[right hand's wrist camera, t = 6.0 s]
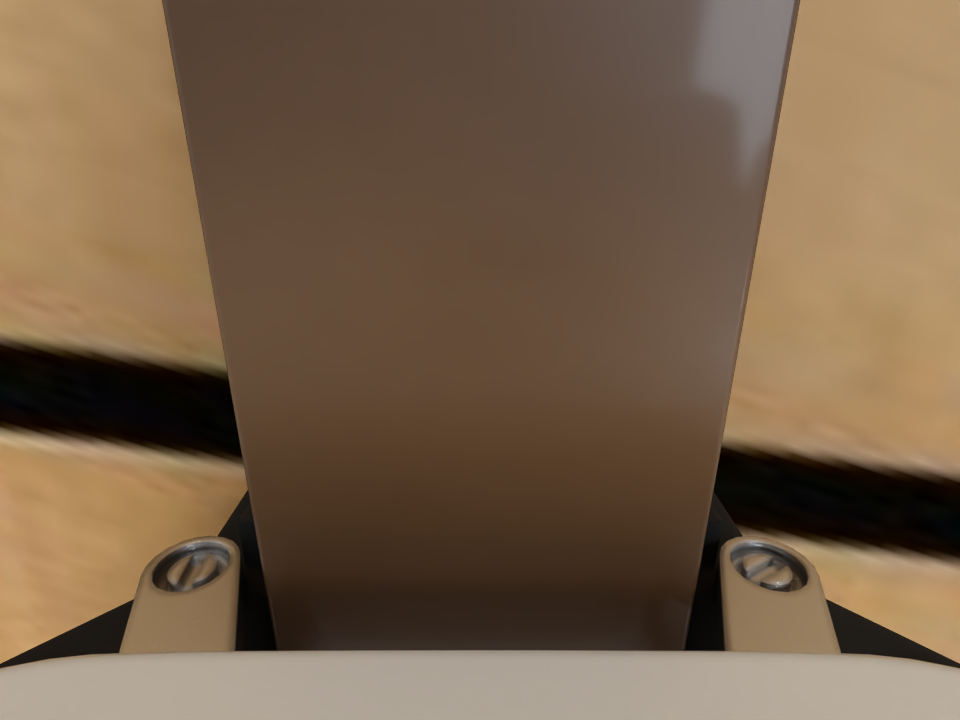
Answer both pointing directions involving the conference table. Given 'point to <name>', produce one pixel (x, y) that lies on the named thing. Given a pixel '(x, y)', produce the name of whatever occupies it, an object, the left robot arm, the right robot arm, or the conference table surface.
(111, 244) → the conference table surface
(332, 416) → the beam
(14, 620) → the conference table surface
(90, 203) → the conference table surface
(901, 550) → the conference table surface
